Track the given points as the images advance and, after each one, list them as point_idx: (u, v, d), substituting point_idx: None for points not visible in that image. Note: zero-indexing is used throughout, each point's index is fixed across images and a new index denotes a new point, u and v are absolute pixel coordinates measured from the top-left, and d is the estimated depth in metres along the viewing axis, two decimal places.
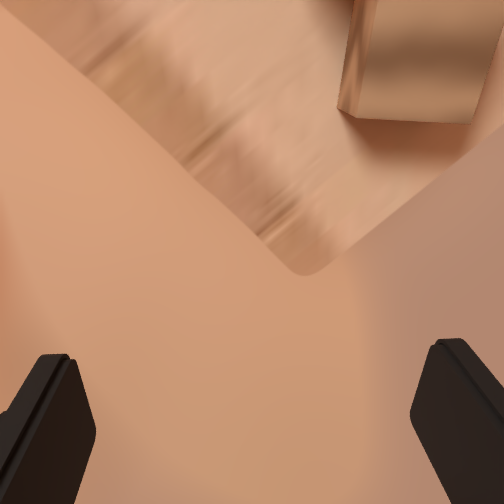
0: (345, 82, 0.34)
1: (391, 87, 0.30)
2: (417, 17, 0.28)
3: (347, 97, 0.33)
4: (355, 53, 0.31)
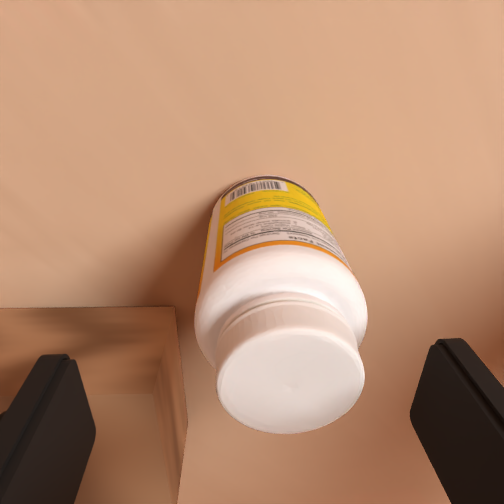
0: (21, 326, 0.19)
1: None
2: (101, 442, 0.17)
3: None
4: (55, 342, 0.18)
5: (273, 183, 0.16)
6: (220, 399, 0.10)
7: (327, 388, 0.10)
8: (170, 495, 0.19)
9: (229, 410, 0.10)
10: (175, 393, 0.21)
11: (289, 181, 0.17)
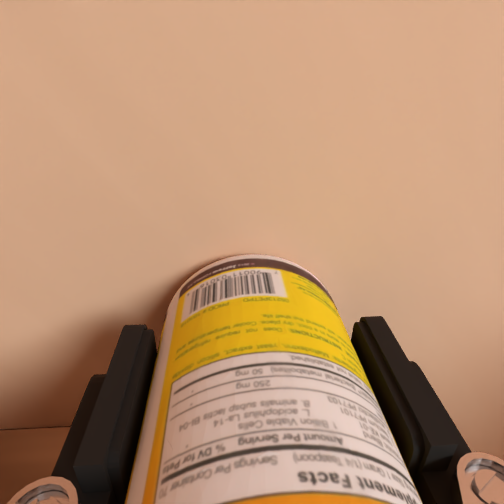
0: None
1: None
2: None
3: None
4: None
5: (261, 278, 0.10)
6: None
7: None
8: None
9: None
10: None
11: (287, 267, 0.10)
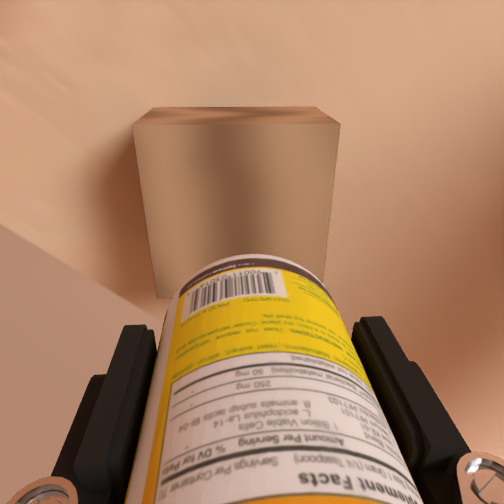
0: (189, 110, 0.22)
1: (188, 174, 0.19)
2: (281, 187, 0.20)
3: (167, 114, 0.21)
4: (229, 114, 0.21)
5: (262, 277, 0.10)
6: None
7: None
8: (324, 261, 0.22)
9: None
10: None
11: (287, 267, 0.10)
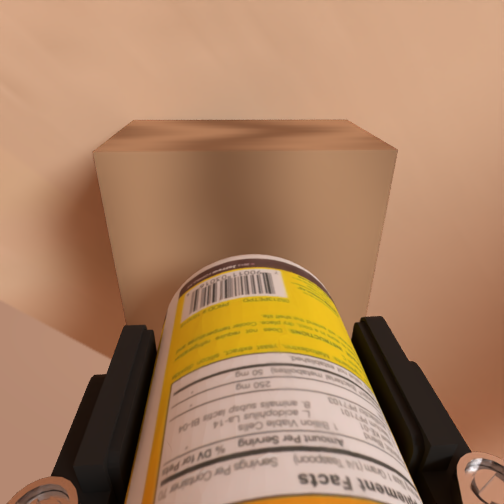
0: (180, 126, 0.16)
1: (176, 219, 0.13)
2: (309, 236, 0.14)
3: (149, 131, 0.15)
4: (235, 131, 0.15)
5: (261, 278, 0.10)
6: None
7: None
8: None
9: None
10: None
11: (287, 267, 0.10)
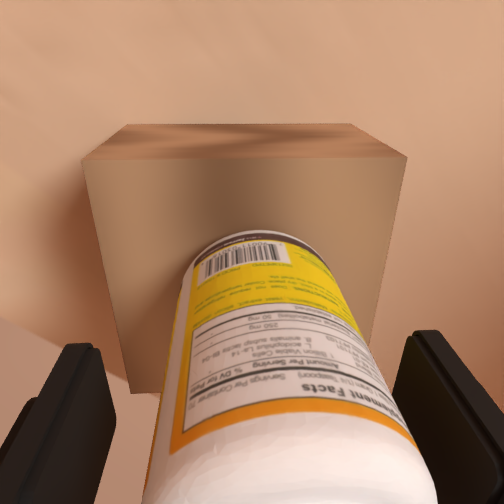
0: (176, 130, 0.15)
1: (172, 231, 0.12)
2: None
3: (143, 137, 0.14)
4: (234, 137, 0.14)
5: (268, 248, 0.11)
6: None
7: None
8: (367, 343, 0.15)
9: None
10: None
11: (290, 240, 0.12)
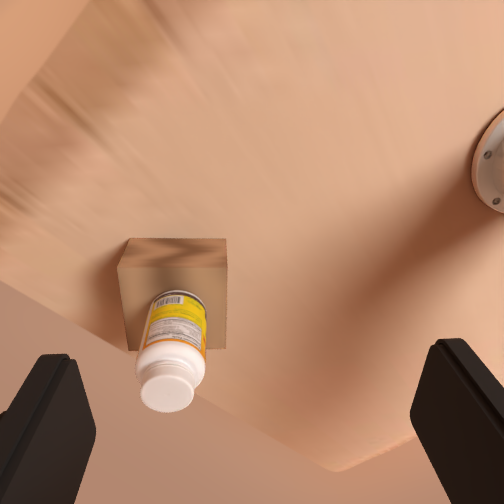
0: (150, 245, 0.38)
1: (146, 289, 0.35)
2: (198, 296, 0.36)
3: (137, 250, 0.37)
4: (172, 251, 0.37)
5: (177, 298, 0.34)
6: (142, 399, 0.28)
7: (180, 395, 0.28)
8: (225, 331, 0.38)
9: (145, 403, 0.28)
10: None
11: (186, 295, 0.34)
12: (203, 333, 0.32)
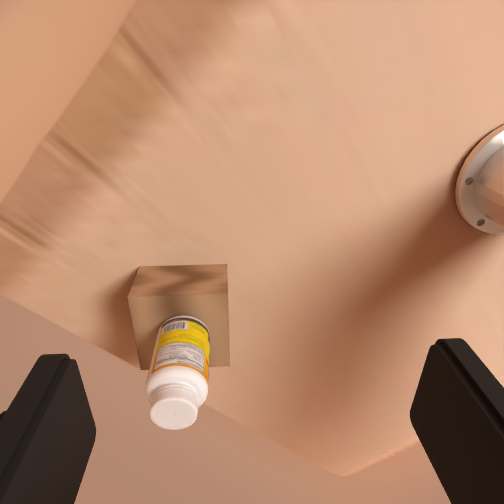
0: (157, 273, 0.41)
1: (155, 315, 0.39)
2: (201, 319, 0.39)
3: (145, 279, 0.40)
4: (177, 278, 0.40)
5: (182, 323, 0.37)
6: None
7: (185, 414, 0.31)
8: (228, 351, 0.42)
9: (155, 422, 0.31)
10: None
11: (191, 320, 0.38)
12: (206, 356, 0.36)
